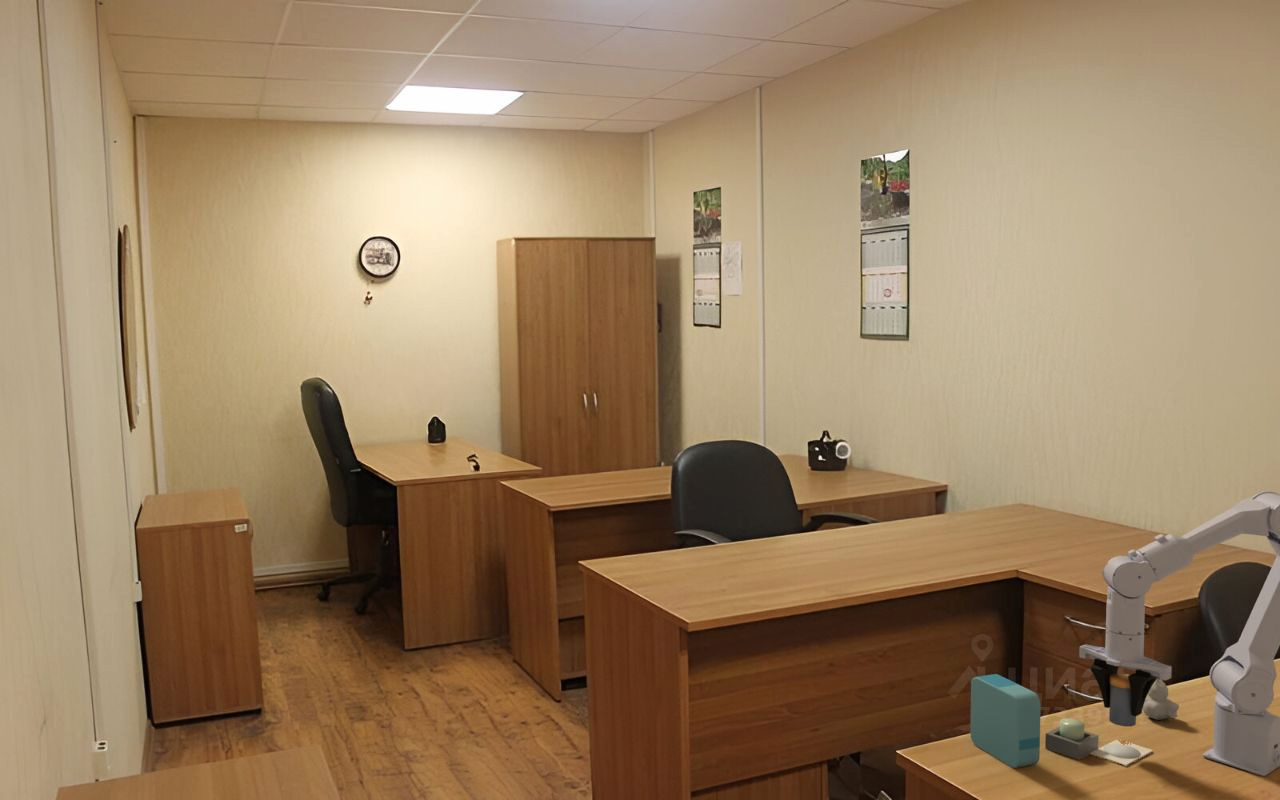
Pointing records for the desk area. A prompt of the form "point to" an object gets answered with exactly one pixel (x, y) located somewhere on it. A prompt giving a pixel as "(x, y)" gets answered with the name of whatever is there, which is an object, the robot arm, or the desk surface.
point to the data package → (1005, 720)
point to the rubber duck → (1159, 702)
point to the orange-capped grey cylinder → (1120, 701)
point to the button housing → (1071, 744)
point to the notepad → (1121, 752)
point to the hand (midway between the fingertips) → (1122, 710)
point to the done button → (1072, 729)
